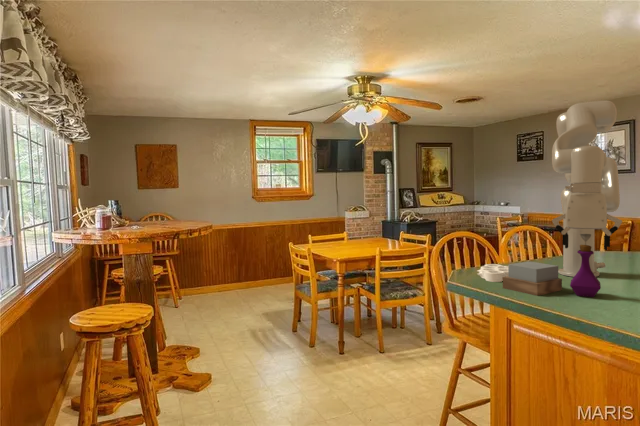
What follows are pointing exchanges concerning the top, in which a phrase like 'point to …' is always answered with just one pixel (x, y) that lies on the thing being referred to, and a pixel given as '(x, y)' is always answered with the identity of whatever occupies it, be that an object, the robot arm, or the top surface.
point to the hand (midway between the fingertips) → (585, 248)
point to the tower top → (533, 271)
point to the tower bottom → (532, 286)
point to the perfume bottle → (585, 273)
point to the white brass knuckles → (493, 272)
